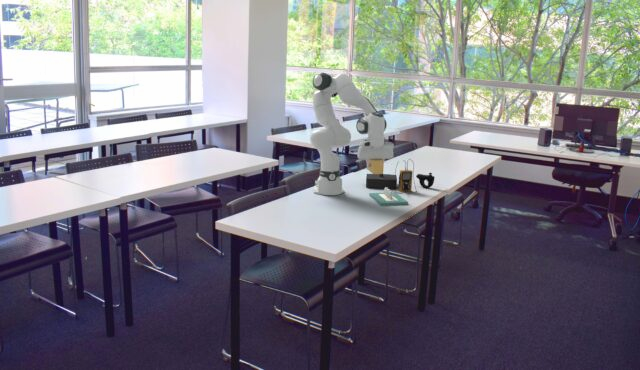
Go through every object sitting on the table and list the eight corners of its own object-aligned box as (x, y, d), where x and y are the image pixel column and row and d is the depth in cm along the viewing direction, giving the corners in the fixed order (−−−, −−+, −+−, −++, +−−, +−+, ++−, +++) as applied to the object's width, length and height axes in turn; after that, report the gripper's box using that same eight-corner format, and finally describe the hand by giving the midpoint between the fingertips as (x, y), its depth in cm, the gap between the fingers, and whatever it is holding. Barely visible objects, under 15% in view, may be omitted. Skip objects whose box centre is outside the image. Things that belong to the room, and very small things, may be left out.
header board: (369, 195, 341) (369, 185, 340) (394, 194, 345) (395, 184, 343) (380, 205, 320) (381, 194, 319) (407, 204, 324) (408, 193, 322)
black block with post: (395, 183, 373) (397, 153, 369) (396, 189, 357) (398, 158, 352) (366, 182, 375) (367, 152, 370) (365, 188, 359) (366, 157, 354)
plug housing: (366, 168, 326) (367, 156, 325) (376, 168, 328) (376, 156, 326) (373, 174, 314) (373, 161, 312) (383, 173, 315) (383, 161, 313)
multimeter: (398, 195, 343) (400, 162, 338) (393, 191, 353) (394, 159, 348) (421, 194, 346) (423, 162, 341) (415, 190, 356) (417, 158, 351)
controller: (431, 189, 358) (432, 174, 355) (414, 186, 366) (415, 171, 363) (435, 188, 361) (436, 173, 358) (418, 185, 369) (419, 170, 366)
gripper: (392, 141, 322) (390, 165, 325) (356, 141, 318) (356, 166, 321) (395, 142, 316) (394, 167, 319) (359, 143, 312) (359, 168, 315)
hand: (374, 166), depth 320 cm, fingers closed on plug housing, 6 cm apart
